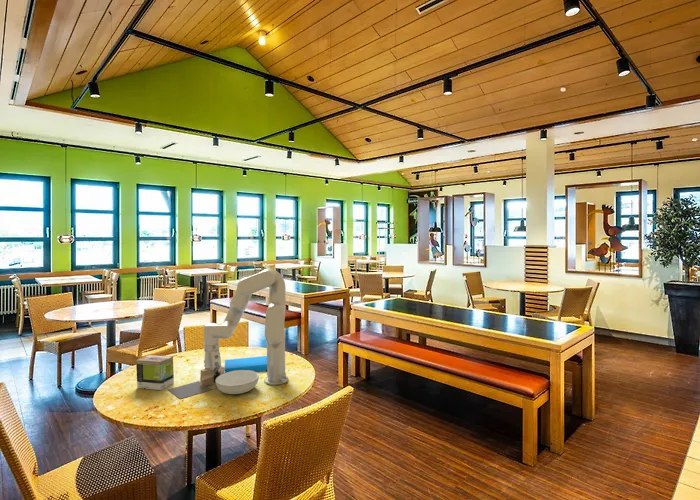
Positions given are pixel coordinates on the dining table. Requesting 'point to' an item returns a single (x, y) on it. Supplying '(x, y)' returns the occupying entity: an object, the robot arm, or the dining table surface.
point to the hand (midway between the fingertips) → (212, 379)
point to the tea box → (155, 372)
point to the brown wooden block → (209, 376)
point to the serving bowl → (237, 381)
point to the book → (246, 364)
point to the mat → (189, 390)
